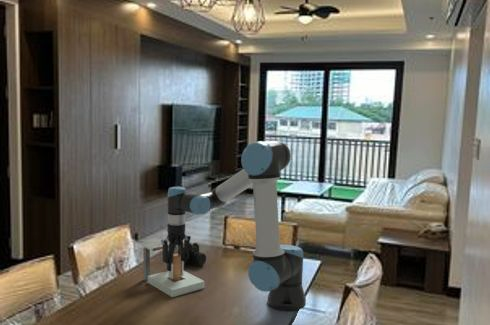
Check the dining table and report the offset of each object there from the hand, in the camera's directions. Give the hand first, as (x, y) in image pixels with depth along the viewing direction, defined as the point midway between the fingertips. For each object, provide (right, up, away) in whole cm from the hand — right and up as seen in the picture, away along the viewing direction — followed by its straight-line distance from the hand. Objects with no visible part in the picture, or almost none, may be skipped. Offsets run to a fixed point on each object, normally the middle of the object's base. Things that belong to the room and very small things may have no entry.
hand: (175, 276), depth 192 cm
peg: (0, -3, +1) cm, 3 cm away
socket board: (0, -4, 0) cm, 4 cm away
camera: (+4, -2, +27) cm, 27 cm away
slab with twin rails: (-7, -3, +8) cm, 11 cm away
